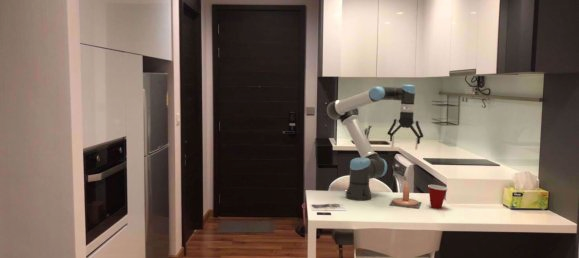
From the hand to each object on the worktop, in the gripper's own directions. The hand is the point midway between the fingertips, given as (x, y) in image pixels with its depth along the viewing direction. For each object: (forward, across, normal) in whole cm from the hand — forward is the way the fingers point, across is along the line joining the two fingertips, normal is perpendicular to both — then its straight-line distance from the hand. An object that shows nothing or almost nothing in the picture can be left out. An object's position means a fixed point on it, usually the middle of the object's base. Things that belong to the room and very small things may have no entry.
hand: (404, 148), depth 287 cm
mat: (+31, +4, -5) cm, 32 cm away
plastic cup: (+31, +21, -4) cm, 38 cm away
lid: (+31, +4, -5) cm, 31 cm away
